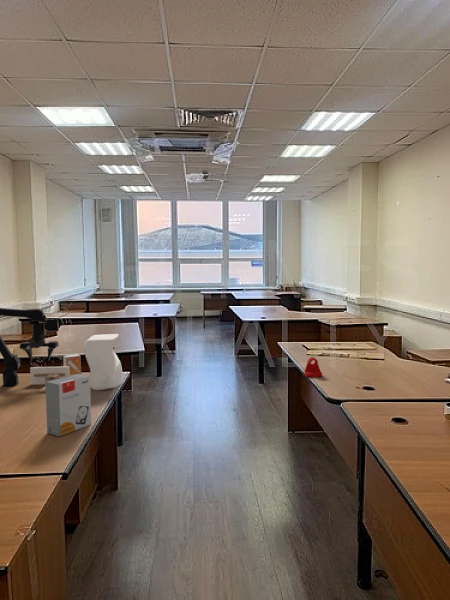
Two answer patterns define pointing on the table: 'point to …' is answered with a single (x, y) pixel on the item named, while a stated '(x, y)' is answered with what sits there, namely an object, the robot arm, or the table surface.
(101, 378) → the white curved block
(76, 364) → the small box
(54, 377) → the cabinet block
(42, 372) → the white slotted box
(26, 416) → the table surface
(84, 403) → the hard drive box
